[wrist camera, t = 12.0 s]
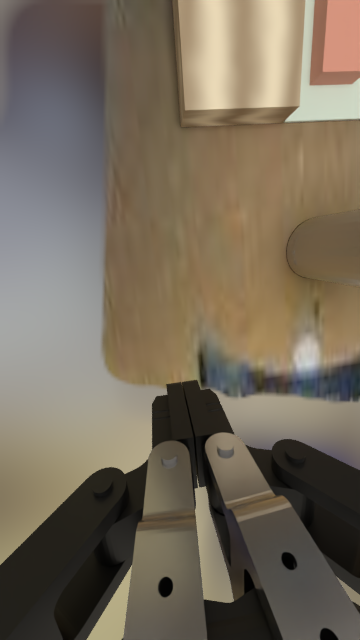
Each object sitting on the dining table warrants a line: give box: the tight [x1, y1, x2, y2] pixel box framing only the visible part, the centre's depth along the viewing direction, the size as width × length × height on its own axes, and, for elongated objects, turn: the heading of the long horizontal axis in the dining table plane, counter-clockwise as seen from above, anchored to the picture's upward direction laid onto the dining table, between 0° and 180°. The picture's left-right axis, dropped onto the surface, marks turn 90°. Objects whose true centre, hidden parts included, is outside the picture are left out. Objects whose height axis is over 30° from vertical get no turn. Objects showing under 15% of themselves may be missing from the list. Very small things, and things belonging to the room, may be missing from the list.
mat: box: [284, 0, 360, 123], centre depth 31 cm, size 14×16×1 cm
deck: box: [172, 0, 305, 127], centre depth 28 cm, size 14×16×4 cm
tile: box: [310, 0, 360, 85], centre depth 29 cm, size 6×9×2 cm, turn 4°
